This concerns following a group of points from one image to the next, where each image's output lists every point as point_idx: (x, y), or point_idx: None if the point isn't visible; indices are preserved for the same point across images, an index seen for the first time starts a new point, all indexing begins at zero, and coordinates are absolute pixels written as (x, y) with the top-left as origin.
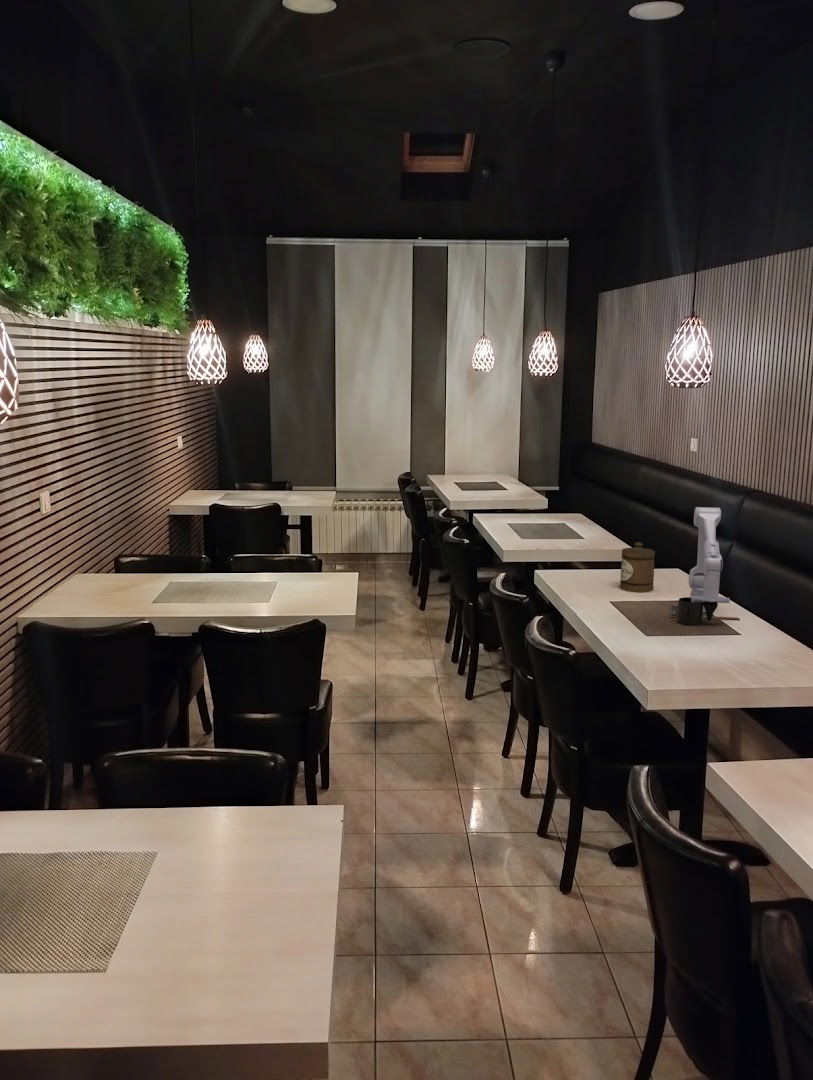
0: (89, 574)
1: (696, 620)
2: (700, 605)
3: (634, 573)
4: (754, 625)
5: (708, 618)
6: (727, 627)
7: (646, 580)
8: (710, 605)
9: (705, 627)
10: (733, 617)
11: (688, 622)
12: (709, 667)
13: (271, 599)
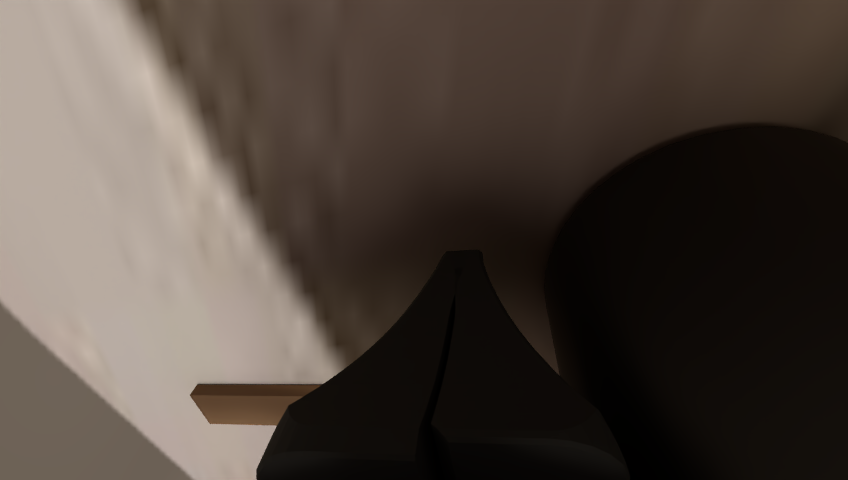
0: None
1: (693, 171)
2: (786, 436)
3: None
4: (43, 276)
5: (478, 263)
6: (250, 143)
7: None
8: (462, 429)
9: (542, 58)
10: (243, 420)
11: (822, 139)
12: None
13: None
